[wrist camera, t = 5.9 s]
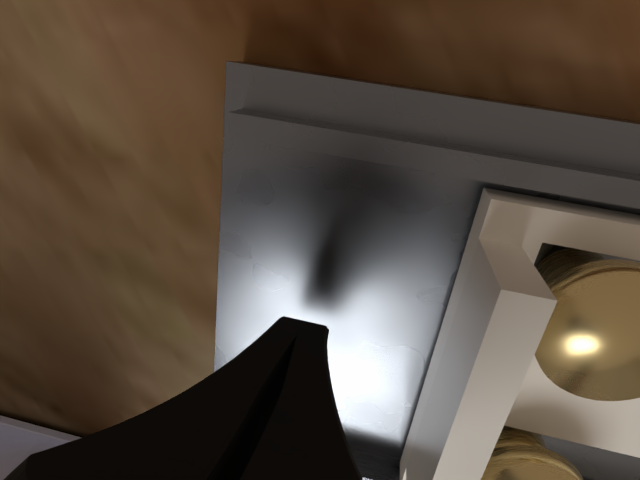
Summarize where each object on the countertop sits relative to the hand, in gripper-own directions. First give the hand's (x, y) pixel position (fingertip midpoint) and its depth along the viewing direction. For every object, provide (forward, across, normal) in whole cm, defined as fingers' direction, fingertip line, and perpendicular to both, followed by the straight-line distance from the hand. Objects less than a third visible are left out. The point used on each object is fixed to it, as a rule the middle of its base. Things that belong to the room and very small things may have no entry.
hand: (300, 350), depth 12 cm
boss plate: (+3, -6, 0) cm, 7 cm away
